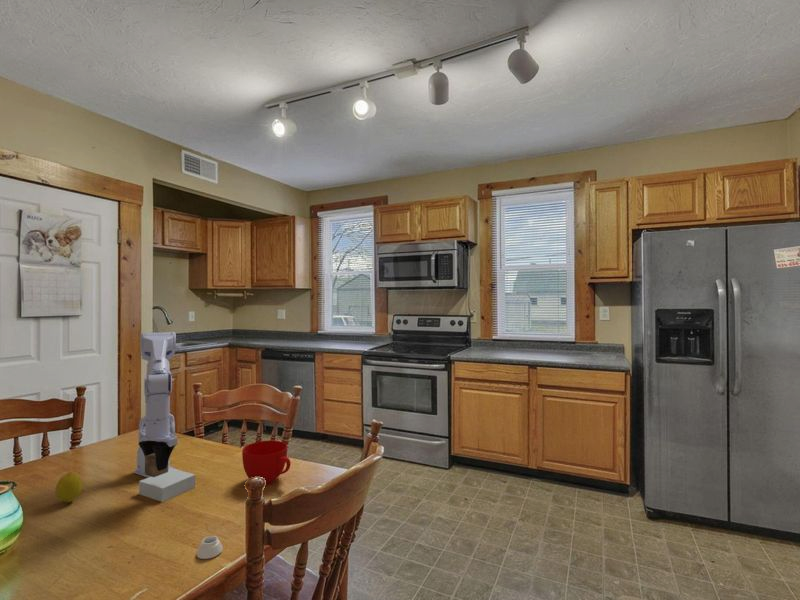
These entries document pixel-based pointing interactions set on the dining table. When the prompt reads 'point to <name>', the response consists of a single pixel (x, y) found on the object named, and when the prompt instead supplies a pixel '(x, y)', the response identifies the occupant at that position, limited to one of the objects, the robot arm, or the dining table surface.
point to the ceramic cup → (265, 460)
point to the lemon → (69, 487)
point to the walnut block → (153, 466)
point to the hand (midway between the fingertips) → (157, 467)
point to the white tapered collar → (209, 548)
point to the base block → (167, 485)
